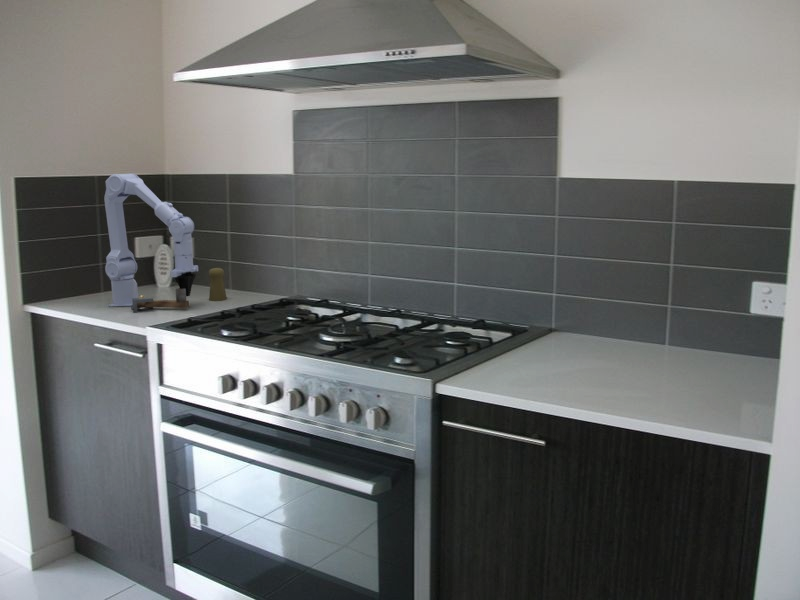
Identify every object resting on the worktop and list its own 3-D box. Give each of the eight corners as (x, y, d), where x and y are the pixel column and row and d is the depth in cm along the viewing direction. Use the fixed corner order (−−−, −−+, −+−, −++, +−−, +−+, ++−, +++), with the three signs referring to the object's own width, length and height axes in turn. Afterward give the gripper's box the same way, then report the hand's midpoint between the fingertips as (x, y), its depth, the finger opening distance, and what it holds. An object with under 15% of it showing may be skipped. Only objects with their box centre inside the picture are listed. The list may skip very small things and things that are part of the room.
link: (132, 307, 261) (131, 289, 260) (139, 304, 265) (138, 287, 264) (184, 308, 257) (183, 290, 256) (190, 306, 261) (189, 288, 260)
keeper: (133, 311, 258) (132, 298, 258) (153, 309, 260) (153, 297, 260) (133, 312, 256) (132, 299, 255) (154, 311, 258) (153, 298, 257)
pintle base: (135, 306, 266) (134, 293, 265) (156, 306, 266) (155, 293, 265) (128, 310, 259) (127, 297, 259) (149, 310, 259) (148, 297, 258)
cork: (216, 301, 274) (215, 269, 272) (205, 300, 277) (203, 268, 275) (230, 299, 278) (228, 267, 276) (219, 297, 282) (217, 266, 280)
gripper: (183, 257, 252) (185, 300, 255) (205, 252, 266) (207, 292, 268) (163, 257, 254) (166, 299, 256) (186, 252, 268) (189, 292, 270)
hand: (186, 295), depth 263 cm, fingers closed
